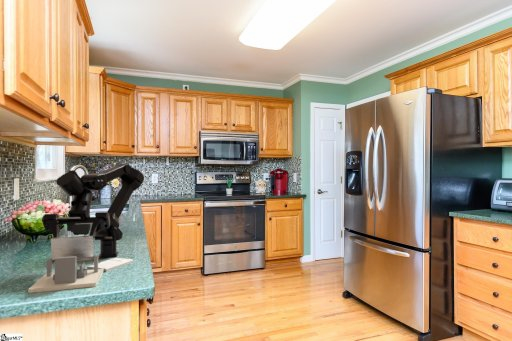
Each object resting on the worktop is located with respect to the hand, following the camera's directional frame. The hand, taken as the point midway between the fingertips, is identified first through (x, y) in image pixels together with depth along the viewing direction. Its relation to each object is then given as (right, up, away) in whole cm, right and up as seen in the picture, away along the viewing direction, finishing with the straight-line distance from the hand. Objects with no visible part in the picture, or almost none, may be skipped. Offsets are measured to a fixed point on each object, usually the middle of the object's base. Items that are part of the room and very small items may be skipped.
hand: (72, 243), depth 96 cm
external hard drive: (+6, -11, +12) cm, 18 cm away
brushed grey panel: (0, -5, 0) cm, 5 cm away
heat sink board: (+1, -10, -4) cm, 11 cm away
